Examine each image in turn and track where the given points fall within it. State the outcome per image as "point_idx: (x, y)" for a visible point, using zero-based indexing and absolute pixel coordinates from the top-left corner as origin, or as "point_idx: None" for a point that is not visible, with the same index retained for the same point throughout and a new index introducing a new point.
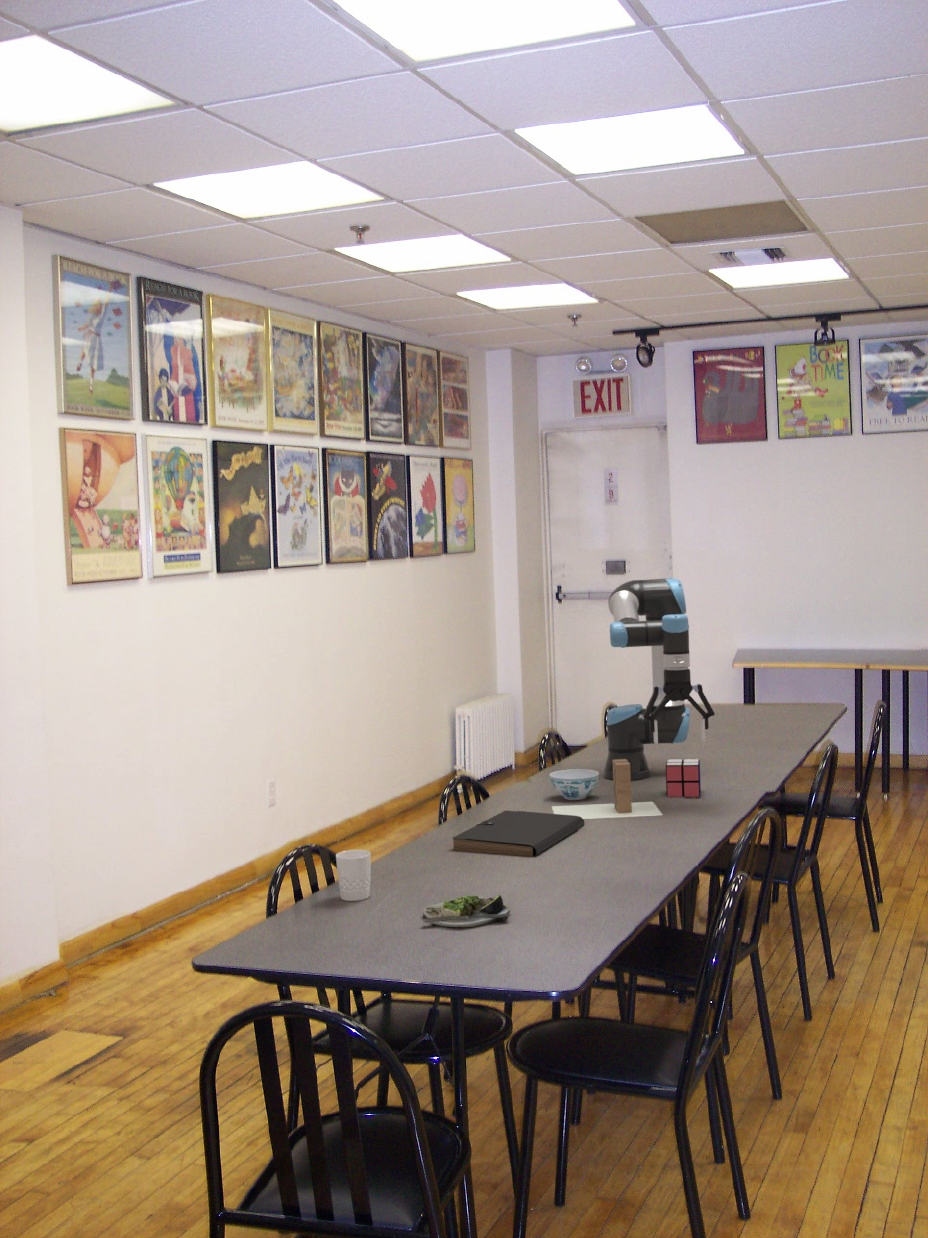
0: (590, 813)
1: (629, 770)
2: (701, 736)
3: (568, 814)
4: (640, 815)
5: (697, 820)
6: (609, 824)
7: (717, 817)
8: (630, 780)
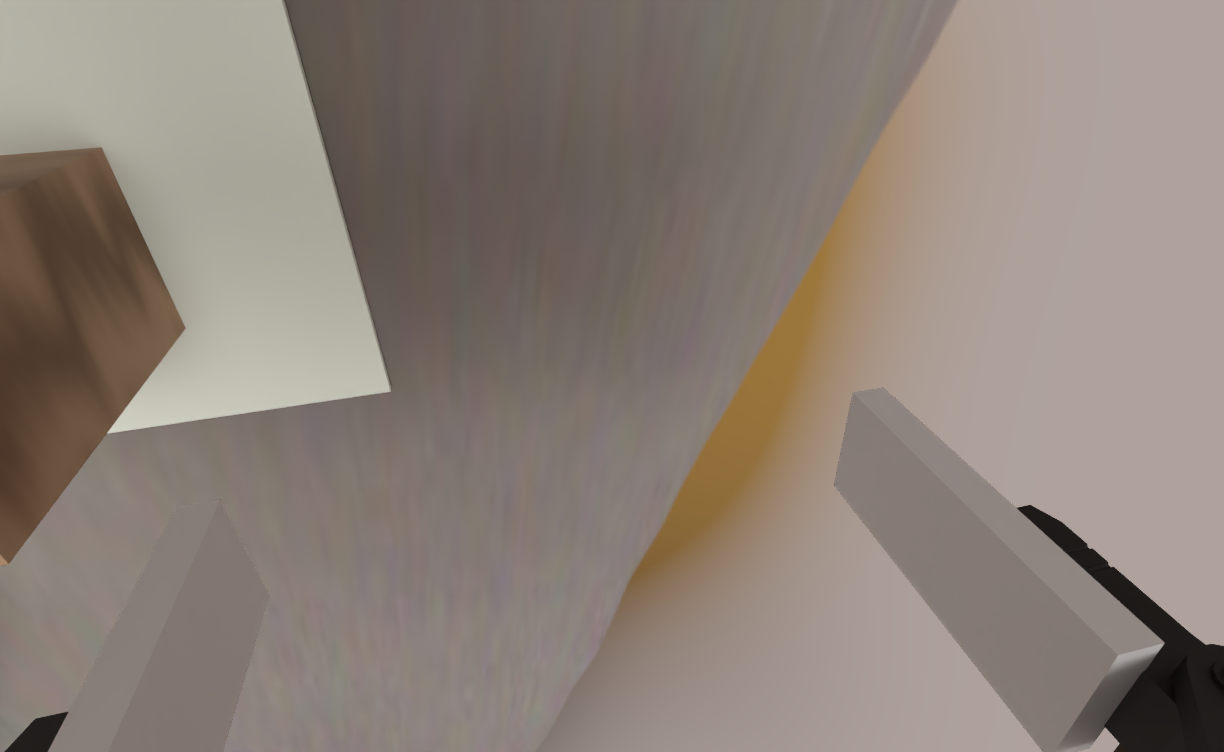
0: None
1: (35, 519)
2: (876, 461)
3: None
4: (259, 396)
5: (560, 450)
6: (116, 523)
7: (656, 402)
8: (88, 456)
